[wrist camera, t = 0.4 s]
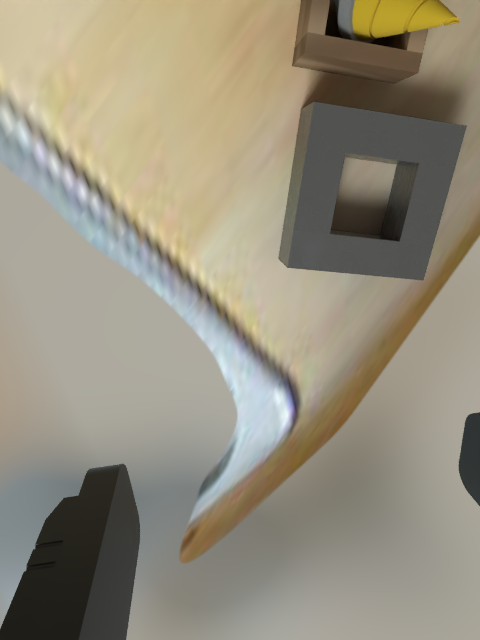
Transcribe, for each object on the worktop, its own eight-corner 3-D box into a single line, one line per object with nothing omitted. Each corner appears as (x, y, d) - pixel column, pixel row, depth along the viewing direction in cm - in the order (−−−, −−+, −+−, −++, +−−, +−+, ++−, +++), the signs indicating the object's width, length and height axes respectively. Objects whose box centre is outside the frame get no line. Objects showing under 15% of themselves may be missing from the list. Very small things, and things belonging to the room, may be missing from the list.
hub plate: (301, 109, 31) (313, 101, 28) (439, 130, 33) (466, 125, 30) (278, 258, 35) (287, 267, 32) (402, 270, 37) (423, 280, 34)
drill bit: (366, -59, 28) (502, -36, 23) (344, 32, 32) (457, 67, 27) (318, -65, 25) (461, -41, 21) (300, 35, 29) (417, 75, 24)
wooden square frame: (311, -74, 27) (328, -108, 24) (423, -49, 28) (453, -78, 25) (292, 66, 30) (304, 52, 27) (394, 83, 31) (418, 72, 28)
